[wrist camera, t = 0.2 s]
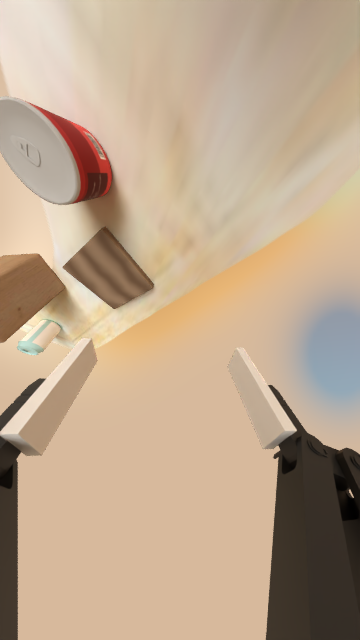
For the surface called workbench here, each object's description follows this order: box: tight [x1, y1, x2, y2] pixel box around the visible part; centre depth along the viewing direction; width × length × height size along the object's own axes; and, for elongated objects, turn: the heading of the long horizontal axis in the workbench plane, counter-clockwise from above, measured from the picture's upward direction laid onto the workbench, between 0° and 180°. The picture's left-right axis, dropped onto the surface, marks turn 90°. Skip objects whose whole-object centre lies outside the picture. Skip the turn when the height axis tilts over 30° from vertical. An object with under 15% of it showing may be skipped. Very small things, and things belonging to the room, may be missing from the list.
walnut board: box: [62, 226, 154, 309], centre depth 36 cm, size 16×16×2 cm
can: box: [17, 320, 61, 355], centre depth 51 cm, size 7×7×12 cm
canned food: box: [0, 96, 112, 205], centre depth 19 cm, size 8×8×11 cm
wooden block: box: [0, 254, 65, 343], centre depth 31 cm, size 10×10×20 cm
